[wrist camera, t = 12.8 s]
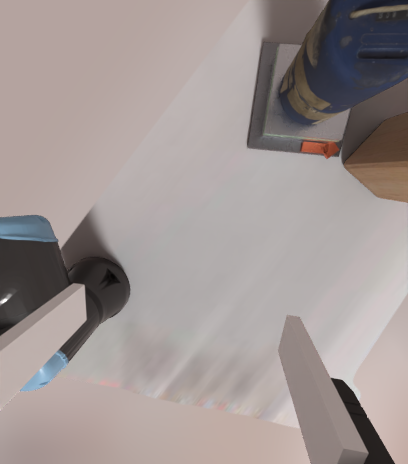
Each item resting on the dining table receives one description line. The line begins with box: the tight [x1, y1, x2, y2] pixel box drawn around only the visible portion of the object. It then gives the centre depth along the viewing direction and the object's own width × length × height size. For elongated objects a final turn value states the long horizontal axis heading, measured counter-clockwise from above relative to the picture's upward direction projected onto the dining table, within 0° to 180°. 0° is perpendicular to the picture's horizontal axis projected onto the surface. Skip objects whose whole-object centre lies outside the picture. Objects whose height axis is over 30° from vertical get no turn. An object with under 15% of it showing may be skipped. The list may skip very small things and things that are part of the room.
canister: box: [280, 0, 408, 125], centre depth 24 cm, size 10×10×18 cm
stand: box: [248, 42, 352, 159], centre depth 35 cm, size 16×17×5 cm
